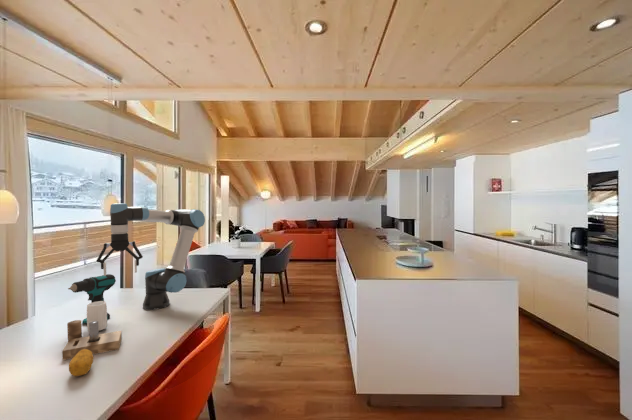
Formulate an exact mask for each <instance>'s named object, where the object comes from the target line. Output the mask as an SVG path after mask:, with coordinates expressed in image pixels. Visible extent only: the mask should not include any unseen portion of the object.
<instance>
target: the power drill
mask: <svg viewBox="0 0 632 420" xmlns="http://www.w3.org/2000/svg"><path fill="white" fill-rule="evenodd" d="M116 282H117V280H116V277H115V275H114V274H111V273H110V274H109V273H108V274H107V273H106V276H104V274H103V275H99V276H90V277H88V278H84V279H83V280H79V281H75V282H73V283H71V286H70V287H68V288H67V289H68V290H70V291H71V292H73V293H82V292H85V293H86V294H87V295H88V298H87V301H91V302H90V303H92V302H97V301H105V299H104V293H105V292H106V291H108V290H110V289H111V288H113V286H115V284H116ZM110 318H111V314H110V313H109V312H107V320H110ZM81 324H83V325H84V324H87V317H85V318H84V319H83V320H81Z"/></svg>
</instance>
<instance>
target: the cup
mask: <svg viewBox="0 0 632 420" xmlns="http://www.w3.org/2000/svg"><path fill="white" fill-rule="evenodd" d="M107 313H108V310H107V302H106V301H105V300H104V301H97V302H92V303H91V302H90V303H88V304H87V305H86V318H87V323H86V325H87V331H88V332H89V323H90V322H93V321H98V330H99V331H102V330H105V329H107V327H108V319H107Z"/></svg>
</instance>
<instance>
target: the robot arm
mask: <svg viewBox="0 0 632 420" xmlns="http://www.w3.org/2000/svg"><path fill="white" fill-rule="evenodd" d="M109 216H110V217H109V218H110V233H111V234H110V243H107V242H104V244H103V247H102V250H101V251H100V253H99V255H98V257H97V259H96V260H95V261H96V262H97V263H100V269H101V270H103V275H104V276H106V275H107V262H106V260H107V259H108V258H109V257H110V256H111V254H112V253H113V252H123V251H126V252H127V253H128V254H130V255H131V256H132V257H133V258H134V273H137V272H138V268H137V267H139V265H140V260H141V259H143V257H144V256H143V254H142V253H141V251H140V250H139V248H138V246H137V244H136V241H134V240H133V241H129V222H131V221H132V222H148V223H149V222H150V223H164V224H166V225H171V226H177V227H179V228H180V233H179V236H178V238H177V240H176V244H175V248H174V251H173V253H172V257H171V260H170V263H169V265H168V266H167V267H165V268H156V269H151V270H148V271H146V272H145V275H144V276H145V277H144V279H145V280H144V281H145V282H144V283H145V296H144V299H143V303H142V309H144V310H149V311H150V310H151V311H152V310H159V309H164V308H167V307H168V306H169V305H170V298H169V295H168V293H179V292H180V291H182V290H183V289H185V287H186V286H187V285H186V284H187V276H186V275H185V273H186V271H185V266H186V262H187V259H188V256H189V252H190V250H191V246H192V243H193V239H194V237H195V233H197V232H198V231H199V229H200V228H202V227H203V226H204V225H205V222H206V217H205V214H204V212H203V211H202V210H200V209H195V208H193V209H192V208H191V209H189V208H188V209H187V208H185V209H184V208H183V209H167V210H158V209H150V208H149V209H148V207H146V206H128V204H127V203H112V204H110V210H109ZM129 246H131V247H133V249H134V251H135V252H133V250H131V249H130V248H129ZM109 247H110V248H112V249H110V251H109V252H108V253H107V254H106V255H105V257H103V256H104V254H105V253H106V250H107V249H108V248H109ZM135 253H136V254H137V255H136V254H135ZM102 257H103V258H102ZM167 292H168V293H167Z"/></svg>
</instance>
